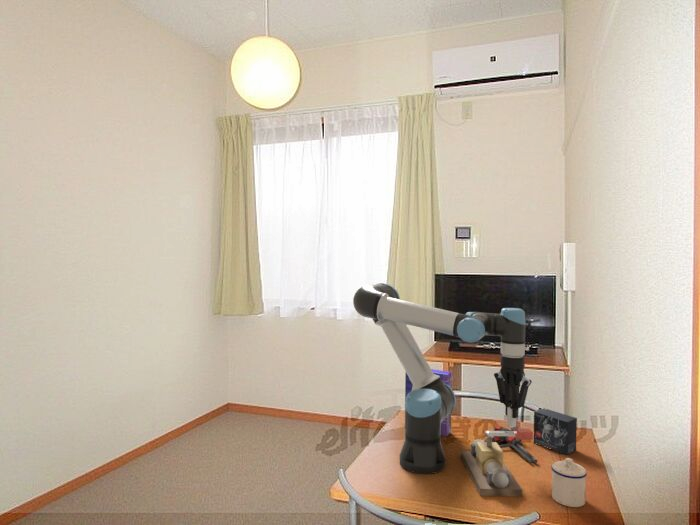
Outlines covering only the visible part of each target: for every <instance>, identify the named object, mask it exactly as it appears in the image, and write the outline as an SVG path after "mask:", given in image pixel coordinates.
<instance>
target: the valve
mask: <svg viewBox="0 0 700 525" xmlns="http://www.w3.org/2000/svg"><path fill="white" fill-rule="evenodd" d="M514 428H519V426H517V424H516V427H513V428H510V429H508V428H506V427H505V428H504V427H503V426H501V425H496V426H495V427H494V428H493V431H514ZM483 441H484V442H487V438H485V440H483ZM492 442H496V443H497V444H498V445H499V444H500V443H501V442H507V443H505V444H501V445H499V447H500V448H501V449H503V448H508V447H510V448H512V449H513V448H514V450H515V451H516V452H517V453H519V455H521V456H522V457H523V458H524V459H525V460H527V461H528V463H529V464H533V463H534V464H537V463H538V459H537V458H536V457H534V456H533V455H532V454H531V453H530V452H529V451H528V450H526V449H525V448H524V447H523V446H522V440H517V439H516V438H515V437H514V436H494V438H492Z"/></svg>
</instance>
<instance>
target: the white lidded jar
mask: <svg viewBox="0 0 700 525" xmlns="http://www.w3.org/2000/svg"><path fill="white" fill-rule="evenodd" d="M551 475H552V476H551V497H552V499H553V500H554V501H555V502H557V503H558V504H560V505H563V506H565V507H570V508H580V507H583V506H585V504H586V483H587V482H586V479H587V478H586V476H587V475H588V474H587V470H586V469H585V468H584V467H583V466H582V465H580V464H578V463H576V462H574V460H573V458H571V457H566V458H565V459H564V460H559V461H555V462H553V463H552V465H551Z"/></svg>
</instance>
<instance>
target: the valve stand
mask: <svg viewBox="0 0 700 525" xmlns="http://www.w3.org/2000/svg"><path fill="white" fill-rule="evenodd" d="M486 439H487V442H484V441H485V440H483V439H481V438H479V439H475V440H474V441H473V442H472V443H471V444H470V447H471V448H470V450H461V451H460V458H461V459H462V461H463V464H464V466H465V468H466V470H467V472H468V474H469V476H470V477H471V480H472V482H473V484H474V486H475V488H476V489H477V490H476V491H477V492H478V494H479V496H481V497H482V496H483V497H485V496H486V497H489V496H490V497H523V488H522V487H521V485H520V484H519V482H518V481H517V480H516V479H515V477H514V475H513V474H512V472H511V470H510V469H509V468H508V467H507V465H506V463H504V451H503V450H502V448H500V447H499V443H496V442H492V438H487V437H486Z"/></svg>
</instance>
